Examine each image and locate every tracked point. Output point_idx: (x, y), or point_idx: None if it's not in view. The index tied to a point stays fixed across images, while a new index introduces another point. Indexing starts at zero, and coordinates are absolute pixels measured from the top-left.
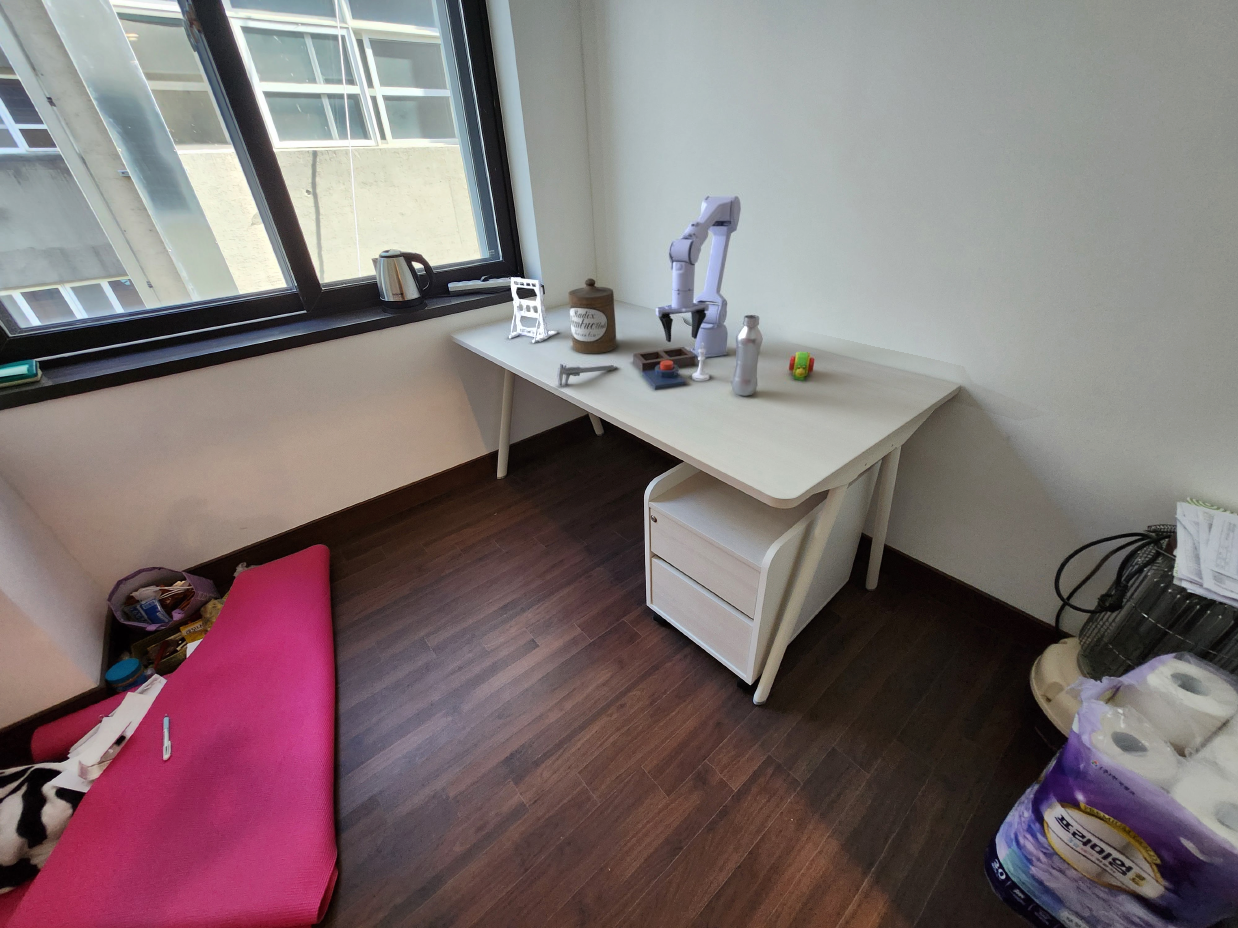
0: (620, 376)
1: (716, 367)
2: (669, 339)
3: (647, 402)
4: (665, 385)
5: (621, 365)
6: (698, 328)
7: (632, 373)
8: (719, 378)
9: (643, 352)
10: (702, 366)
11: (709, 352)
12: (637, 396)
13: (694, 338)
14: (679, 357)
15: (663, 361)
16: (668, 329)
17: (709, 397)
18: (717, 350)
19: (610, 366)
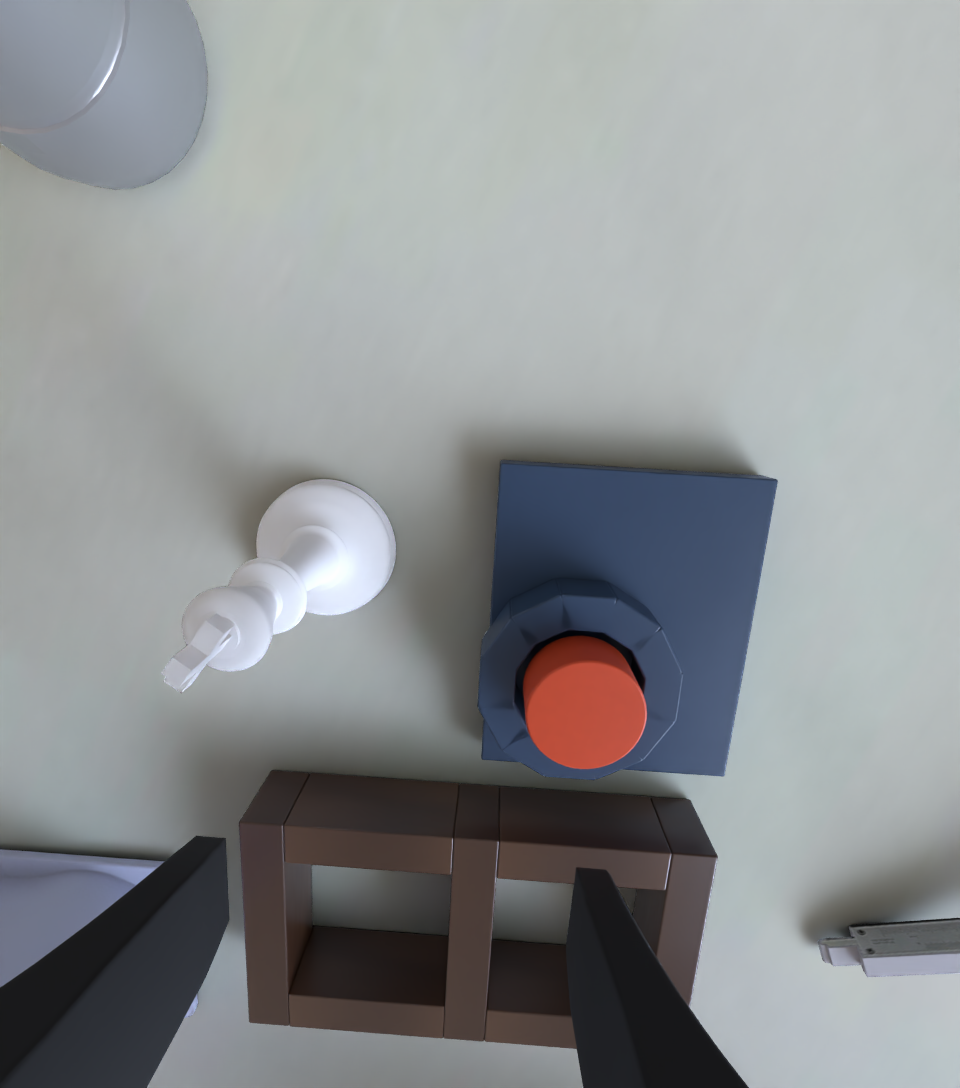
0: (862, 806)
1: (133, 677)
2: (609, 895)
3: (944, 263)
4: (680, 473)
5: (754, 971)
6: (73, 954)
7: (756, 820)
8: (195, 475)
9: None
10: (291, 554)
11: (86, 892)
12: (950, 412)
13: (222, 843)
14: (377, 845)
15: (604, 748)
16: (697, 1057)
17: (433, 139)
18: (13, 899)
19: (894, 950)
